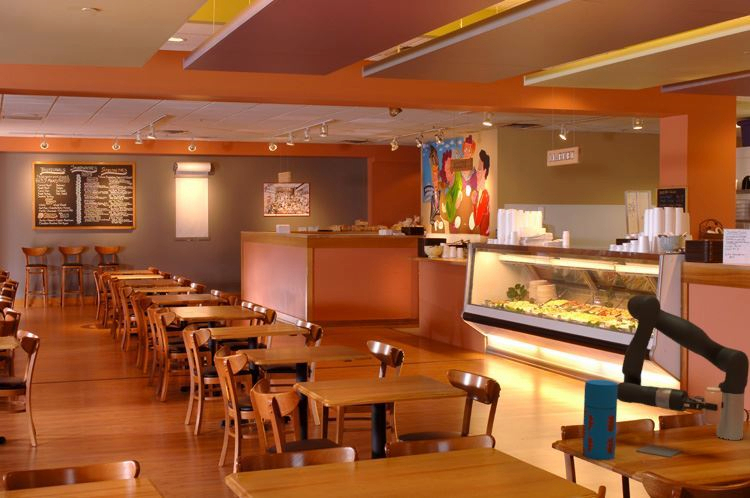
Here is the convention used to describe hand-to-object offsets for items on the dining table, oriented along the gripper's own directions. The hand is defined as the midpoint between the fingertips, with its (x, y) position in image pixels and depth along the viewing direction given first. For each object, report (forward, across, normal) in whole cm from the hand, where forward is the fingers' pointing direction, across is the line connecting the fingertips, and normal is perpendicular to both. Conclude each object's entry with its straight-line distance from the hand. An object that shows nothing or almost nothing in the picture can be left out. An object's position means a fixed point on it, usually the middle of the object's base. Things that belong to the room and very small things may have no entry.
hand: (720, 406), depth 323 cm
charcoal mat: (-18, -6, +18) cm, 26 cm away
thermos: (-31, -26, +18) cm, 45 cm away
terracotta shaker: (-3, 0, +6) cm, 7 cm away
